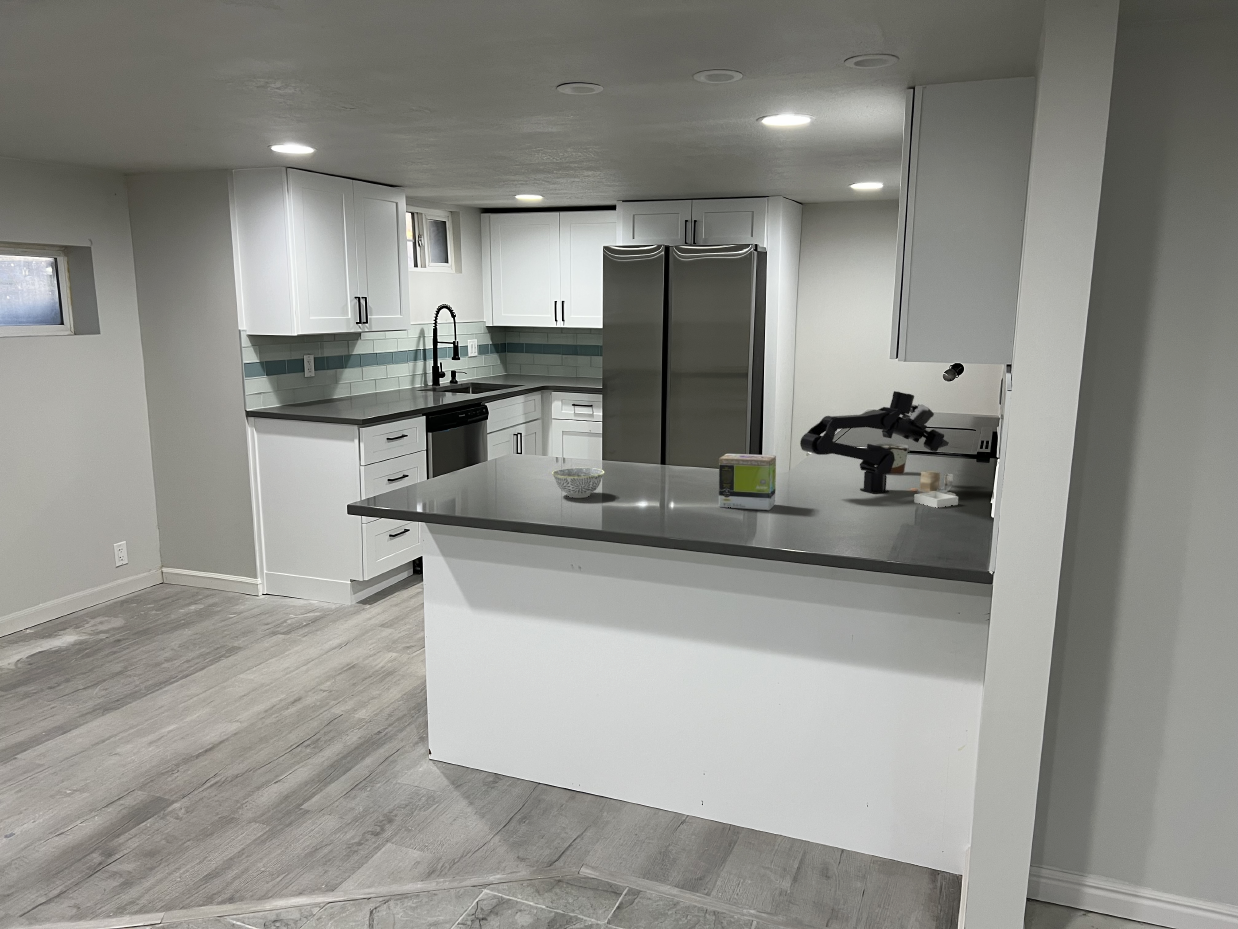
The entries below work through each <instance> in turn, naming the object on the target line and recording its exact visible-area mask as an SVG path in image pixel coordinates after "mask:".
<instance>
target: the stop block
mask: <svg viewBox="0 0 1238 929" xmlns="http://www.w3.org/2000/svg"><path fill="white" fill-rule="evenodd" d="M940 481H941V473H940V472H937V471H932V470H928V471H921V472H920V485H919V491H920V490H921V491H920V492H924V491H927V492H926V493H928V492H930V491H937V489H940Z"/></svg>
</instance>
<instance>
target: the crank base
mask: <svg viewBox="0 0 1238 929" xmlns="http://www.w3.org/2000/svg"><path fill="white" fill-rule="evenodd" d="M918 490H919V489H918V488H914V487H911V488H910V491H914V492H918ZM930 492H937V491H930ZM927 493H929V492H927ZM946 494H948V495H952V496H957V494H956V493H954V492H949V491H947V493H946Z"/></svg>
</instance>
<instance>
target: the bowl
mask: <svg viewBox="0 0 1238 929" xmlns="http://www.w3.org/2000/svg"><path fill="white" fill-rule="evenodd" d="M551 473H552V476H553V477H554V480H555V482H556V485H557V487H558V488H559V490H561V491H562V492H563V493H565V494H566V495H567V497H568V496H569V497H568V498H572V497H573V498H574V499H582V498H589V497H590V496H591V493H594V492H595V491H596V490H597V489H598V487H599V486H600V484H601V481H602V479H603V476H604V474H605V471H604V470H603V469H600V468H595V467H594V468H593V467H567V468H566V467H565V468H561V469H555V470H553V471H552V472H551ZM588 496H589V497H588Z"/></svg>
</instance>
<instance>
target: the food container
mask: <svg viewBox="0 0 1238 929" xmlns="http://www.w3.org/2000/svg"><path fill="white" fill-rule="evenodd" d="M875 445H877V446H882V447H887V448H890V449H889V450H890V451H892V452H893V453H894V457H895V460H894V463H893V466H892V469H891V472H890V474H889V475H898V476H899V475H904V474H905V471H906V464H907V458H908V452H909V453H910V447H909V445H907V444H902V443H901V444H900V443H885V442H883V443H876V444H875ZM875 467H877V466H875Z"/></svg>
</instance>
